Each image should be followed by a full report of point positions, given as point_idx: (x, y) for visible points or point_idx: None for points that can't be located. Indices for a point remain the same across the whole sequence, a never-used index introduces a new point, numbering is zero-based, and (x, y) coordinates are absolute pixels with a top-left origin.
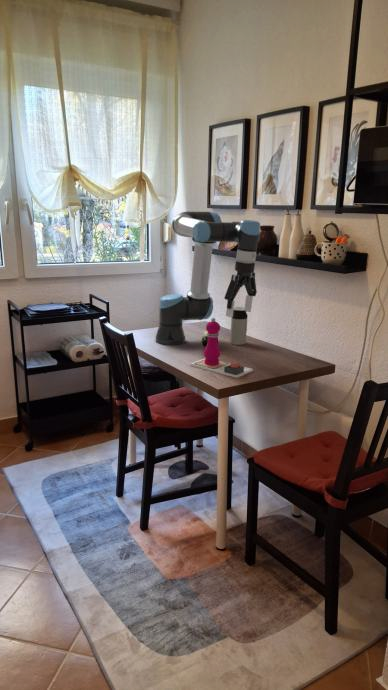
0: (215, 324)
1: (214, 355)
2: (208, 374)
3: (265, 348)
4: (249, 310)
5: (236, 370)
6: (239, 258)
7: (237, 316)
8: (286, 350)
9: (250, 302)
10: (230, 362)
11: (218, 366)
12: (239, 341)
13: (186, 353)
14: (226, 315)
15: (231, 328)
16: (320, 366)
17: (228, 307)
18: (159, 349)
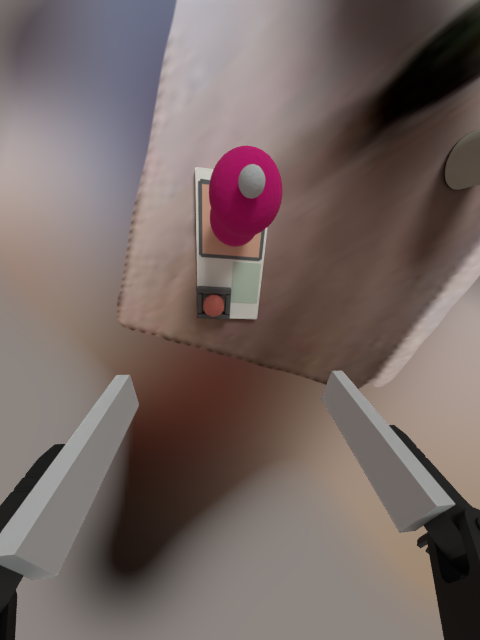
0: (231, 218)
1: (219, 239)
2: (174, 256)
3: (430, 256)
4: (327, 403)
5: (200, 317)
6: None
7: None
8: (426, 300)
9: (360, 459)
10: (211, 297)
11: (223, 253)
12: (457, 175)
13: (294, 65)
14: (115, 381)
15: None
16: None
17: (46, 469)
18: None
